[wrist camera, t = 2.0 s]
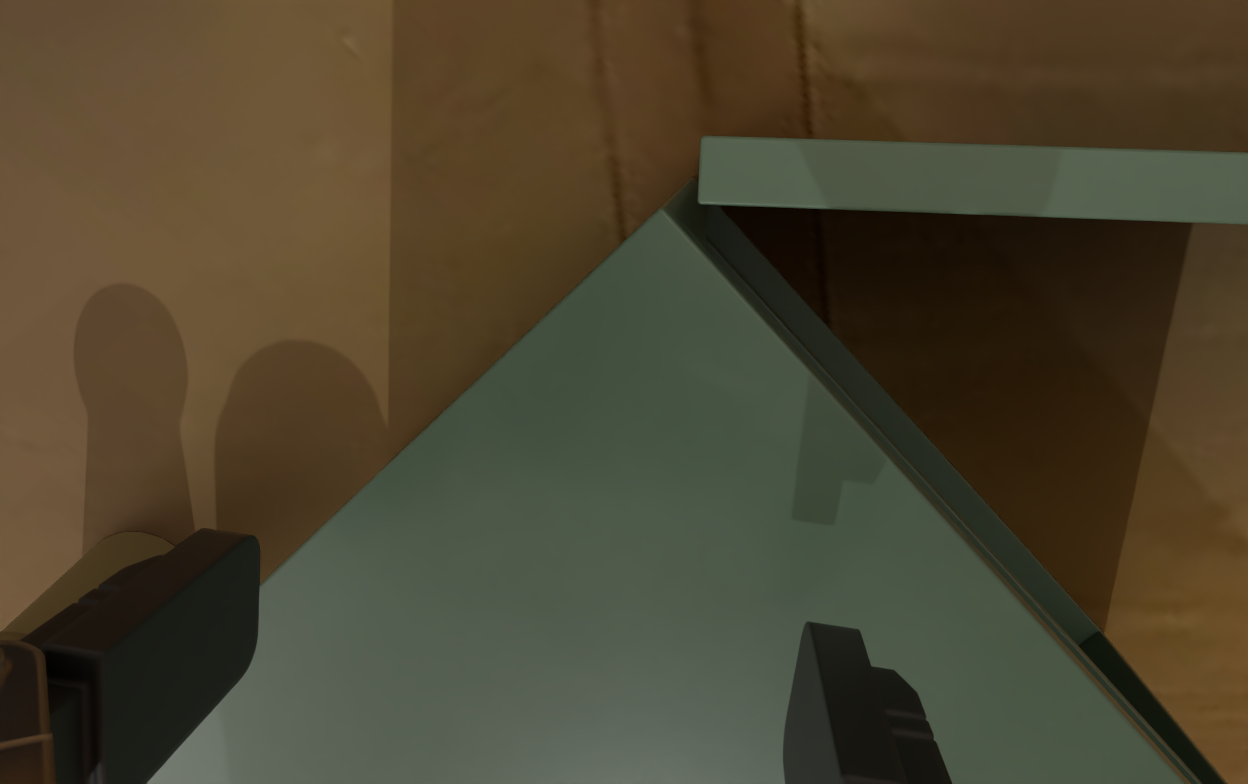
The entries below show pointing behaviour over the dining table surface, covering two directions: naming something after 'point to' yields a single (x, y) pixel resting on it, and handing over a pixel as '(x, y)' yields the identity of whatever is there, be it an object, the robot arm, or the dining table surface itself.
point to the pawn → (86, 578)
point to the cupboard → (667, 567)
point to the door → (975, 179)
